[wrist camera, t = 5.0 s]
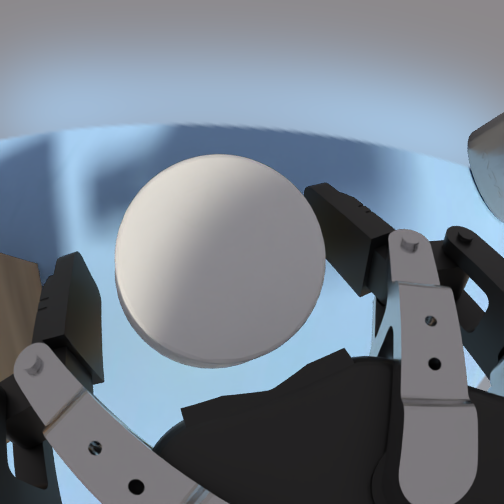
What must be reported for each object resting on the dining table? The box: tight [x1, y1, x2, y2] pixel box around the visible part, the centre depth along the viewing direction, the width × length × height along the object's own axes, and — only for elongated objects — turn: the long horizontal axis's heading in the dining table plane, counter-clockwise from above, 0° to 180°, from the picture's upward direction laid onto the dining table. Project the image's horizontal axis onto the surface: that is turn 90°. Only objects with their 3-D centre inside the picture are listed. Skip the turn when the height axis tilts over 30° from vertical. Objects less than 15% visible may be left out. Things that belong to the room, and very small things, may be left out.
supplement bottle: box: [115, 154, 326, 369], centre depth 10 cm, size 5×5×10 cm
